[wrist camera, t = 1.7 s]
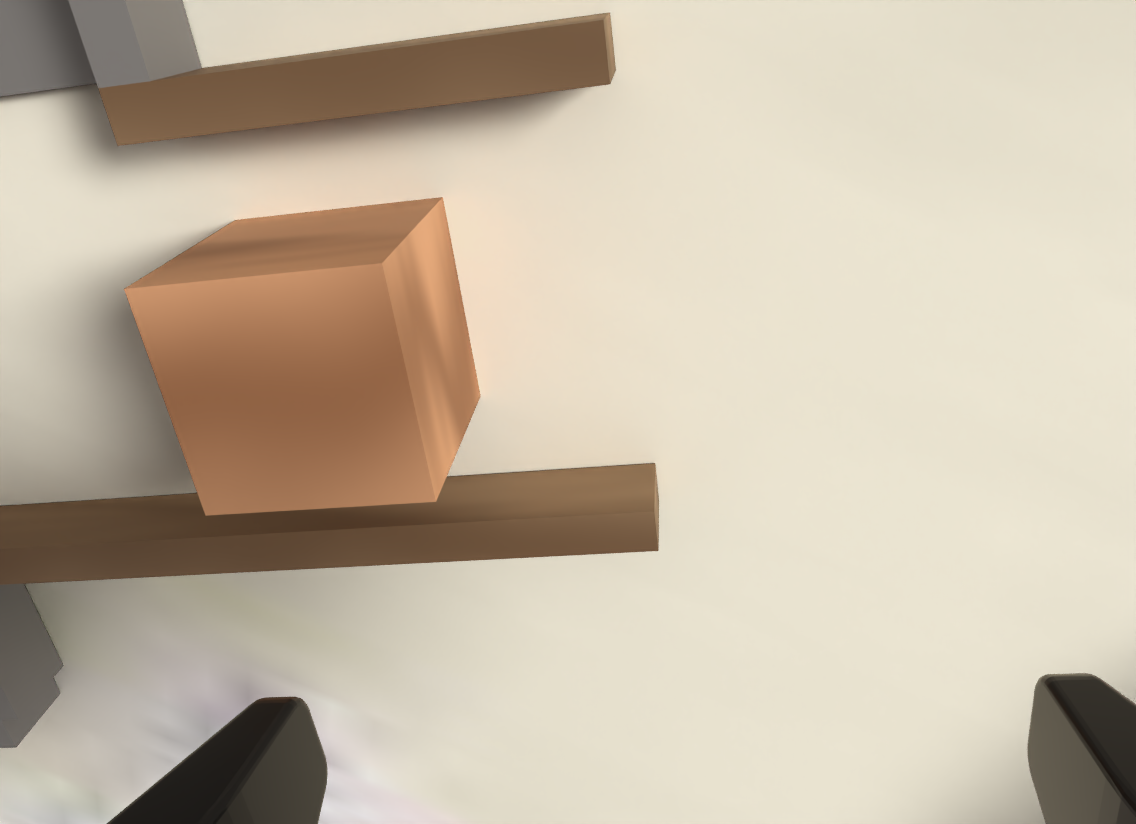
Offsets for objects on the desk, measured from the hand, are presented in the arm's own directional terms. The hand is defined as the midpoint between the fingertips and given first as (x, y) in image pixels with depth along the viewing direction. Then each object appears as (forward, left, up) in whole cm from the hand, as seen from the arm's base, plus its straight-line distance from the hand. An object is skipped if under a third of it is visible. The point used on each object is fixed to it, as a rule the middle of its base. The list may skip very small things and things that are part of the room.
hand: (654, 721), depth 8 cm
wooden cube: (0, +7, -12) cm, 14 cm away
